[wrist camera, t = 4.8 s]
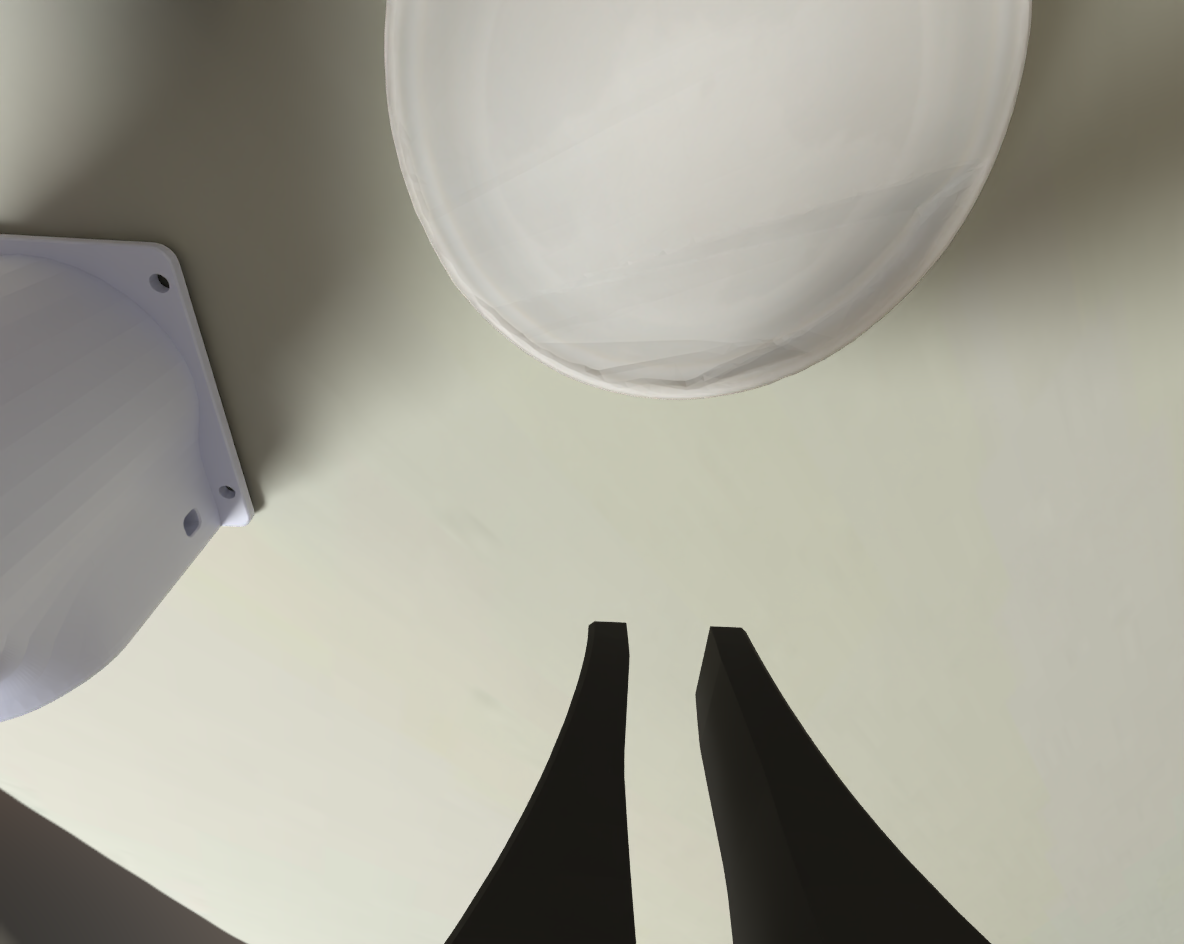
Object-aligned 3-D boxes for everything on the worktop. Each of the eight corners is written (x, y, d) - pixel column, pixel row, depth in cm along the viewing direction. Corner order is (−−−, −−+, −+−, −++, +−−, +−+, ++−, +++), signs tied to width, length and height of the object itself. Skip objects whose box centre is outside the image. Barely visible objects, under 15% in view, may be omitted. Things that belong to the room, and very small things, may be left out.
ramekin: (668, 391, 20) (687, 489, 16) (352, 120, 16) (257, 148, 12) (1003, 77, 15) (1167, 90, 11) (676, -420, 11) (727, -721, 7)
